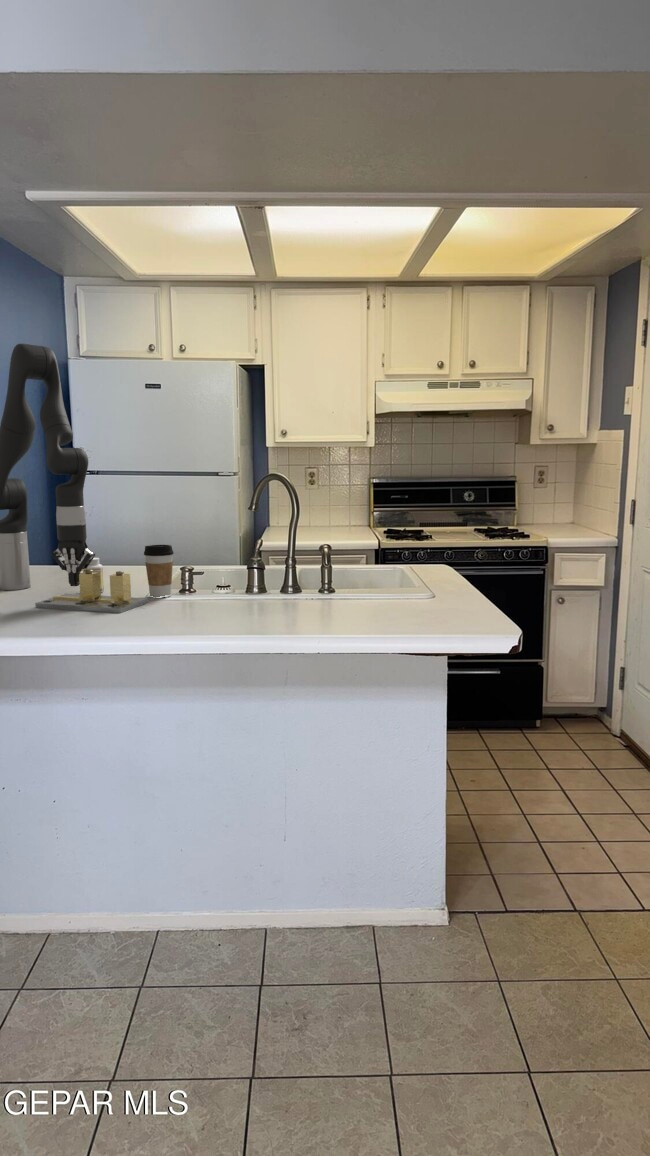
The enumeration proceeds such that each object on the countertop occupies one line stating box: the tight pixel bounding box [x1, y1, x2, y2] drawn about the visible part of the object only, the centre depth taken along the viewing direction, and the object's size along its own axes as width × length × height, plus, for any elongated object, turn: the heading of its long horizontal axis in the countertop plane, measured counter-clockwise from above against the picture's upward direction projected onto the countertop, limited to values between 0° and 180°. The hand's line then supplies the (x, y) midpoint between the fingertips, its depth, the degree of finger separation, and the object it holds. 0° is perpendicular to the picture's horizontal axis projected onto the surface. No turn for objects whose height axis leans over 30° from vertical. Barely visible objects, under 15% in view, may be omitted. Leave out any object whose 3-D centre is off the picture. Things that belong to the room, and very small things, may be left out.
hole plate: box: [34, 593, 149, 614], centre depth 210 cm, size 26×14×1 cm, turn 73°
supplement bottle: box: [82, 557, 105, 593], centre depth 227 cm, size 6×6×10 cm
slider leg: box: [79, 570, 102, 602], centre depth 208 cm, size 4×6×8 cm, turn 163°
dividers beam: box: [52, 570, 133, 605], centre depth 208 cm, size 24×6×8 cm, turn 73°
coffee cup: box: [143, 544, 175, 597], centre depth 221 cm, size 8×8×15 cm
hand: (75, 585), depth 211 cm, fingers closed
